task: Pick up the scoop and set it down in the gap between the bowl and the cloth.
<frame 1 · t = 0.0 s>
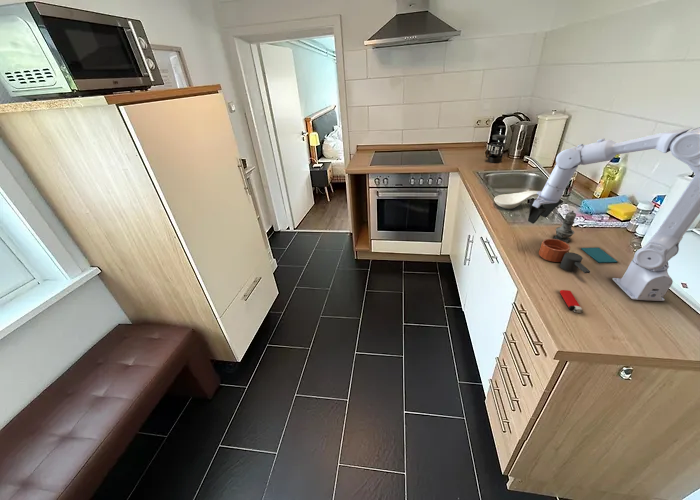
hand: (537, 219, 102), 11 cm above the countertop, tool pointing down, fingers open, 7 cm apart
spoon rest: (519, 206, 137), on the countertop
french press: (493, 161, 200), on the countertop
cloth: (598, 255, 100), on the countertop
bowl: (551, 256, 100), on the countertop
lighter: (569, 303, 81), on the countertop
grey tall lumpy piece: (561, 239, 110), on the countertop
scoop: (568, 267, 95), on the countertop
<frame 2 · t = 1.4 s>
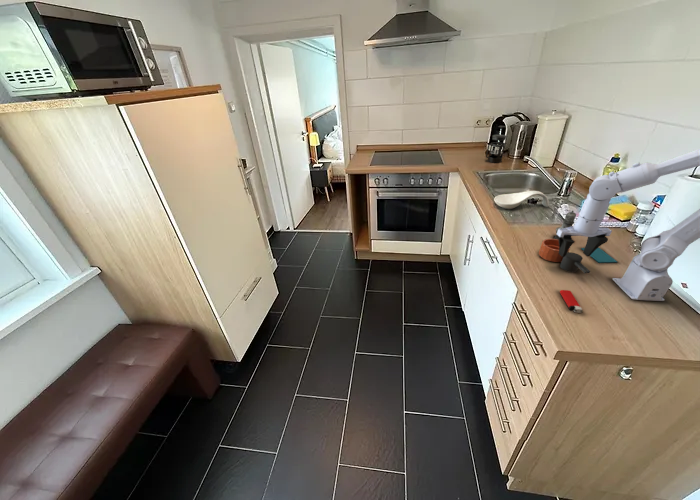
hand: (573, 254, 92), 5 cm above the countertop, tool pointing down, fingers open, 7 cm apart
nothing on the countertop moved.
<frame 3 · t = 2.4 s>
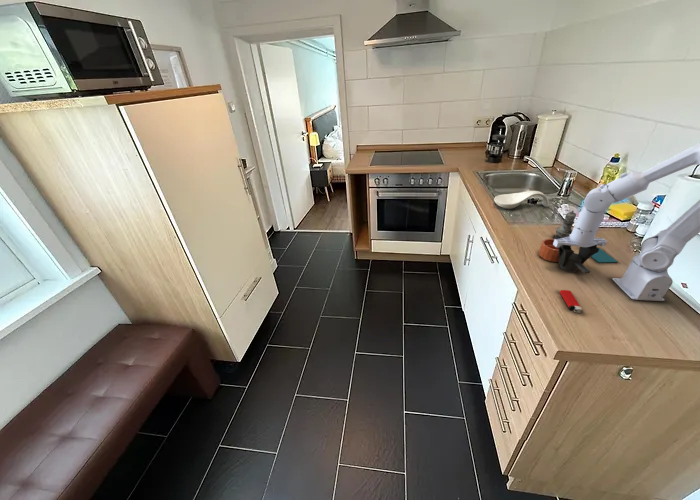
hand: (570, 264, 94), 1 cm above the countertop, tool pointing down, fingers closed on scoop, 5 cm apart
scoop: (568, 267, 95), on the countertop, touching gripper
everything else where it was.
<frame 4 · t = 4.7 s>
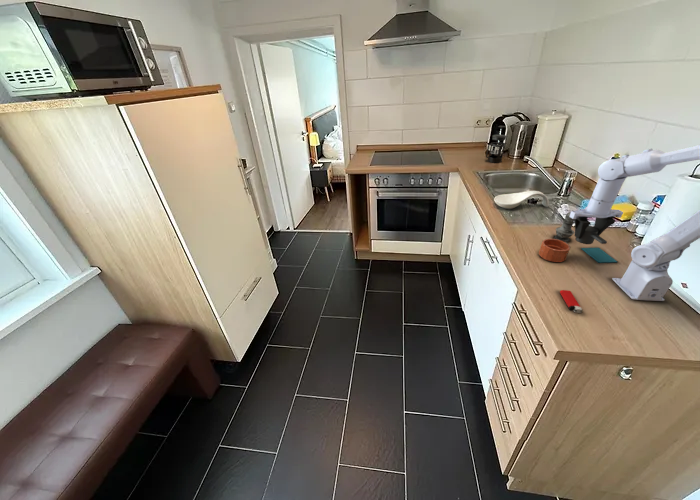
hand: (585, 237, 95), 8 cm above the countertop, tool pointing down, fingers closed on scoop, 5 cm apart
scoop: (583, 240, 96), point 7 cm above the countertop, touching gripper
everything else where it was.
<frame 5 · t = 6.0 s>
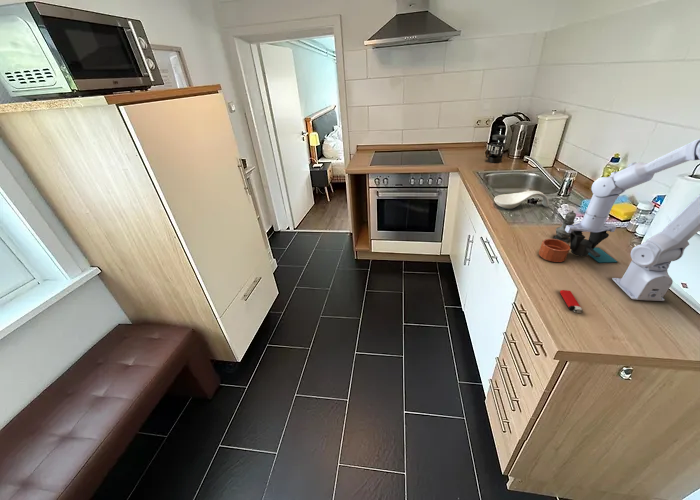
hand: (580, 249, 98), 3 cm above the countertop, tool pointing down, fingers closed on scoop, 5 cm apart
scoop: (578, 253, 99), point 1 cm above the countertop, touching gripper
everything else where it was.
when the fingers open (1 cm above the countertop, at t = 6.9 s): scoop stays where it is, on the countertop.
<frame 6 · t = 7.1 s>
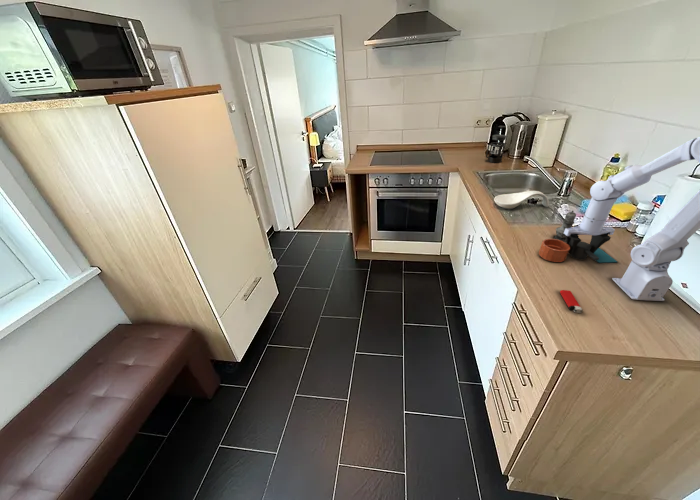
hand: (579, 252, 99), 1 cm above the countertop, tool pointing down, fingers open, 6 cm apart
scoop: (577, 255, 100), on the countertop
everything else where it was.
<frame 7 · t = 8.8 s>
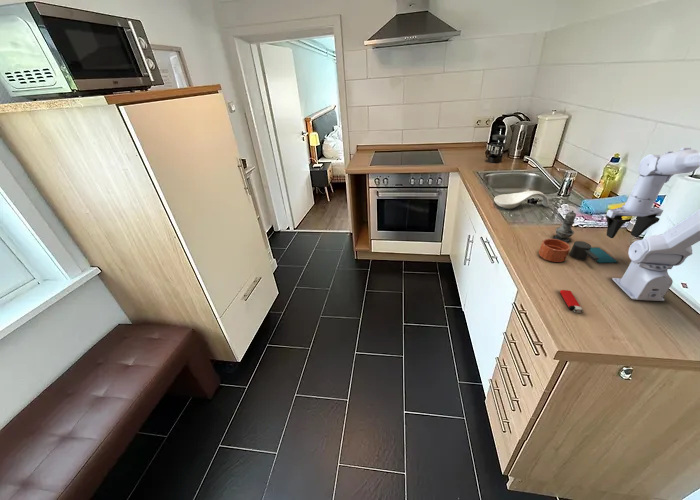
hand: (622, 236, 92), 9 cm above the countertop, tool pointing down, fingers open, 7 cm apart
nothing on the countertop moved.
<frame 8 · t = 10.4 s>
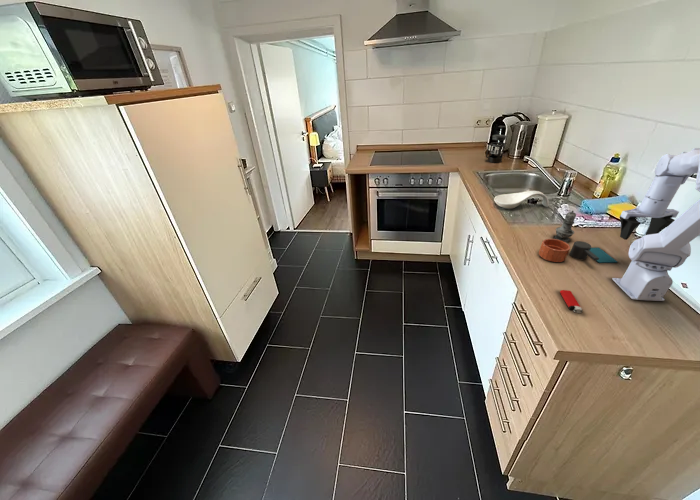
hand: (636, 237, 91), 9 cm above the countertop, tool pointing down, fingers open, 7 cm apart
nothing on the countertop moved.
at the end: scoop 0.1 cm from the target spot, on the countertop; scoop tilted 0°; the gripper is holding nothing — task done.
